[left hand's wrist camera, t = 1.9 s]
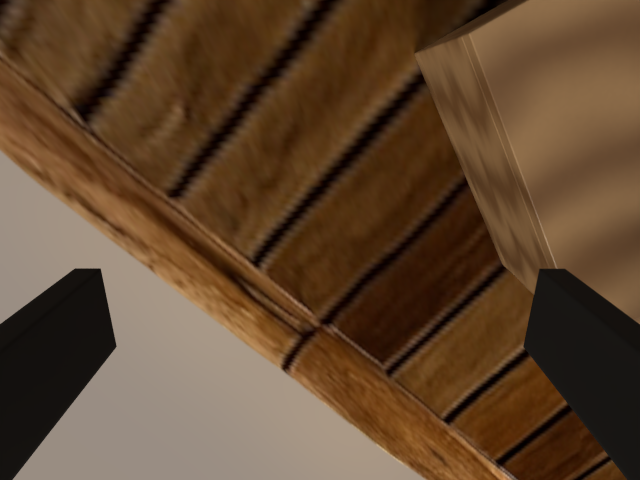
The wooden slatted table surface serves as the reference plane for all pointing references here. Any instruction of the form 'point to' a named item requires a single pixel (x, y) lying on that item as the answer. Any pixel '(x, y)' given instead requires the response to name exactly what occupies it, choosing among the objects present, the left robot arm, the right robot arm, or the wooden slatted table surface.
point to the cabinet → (550, 135)
